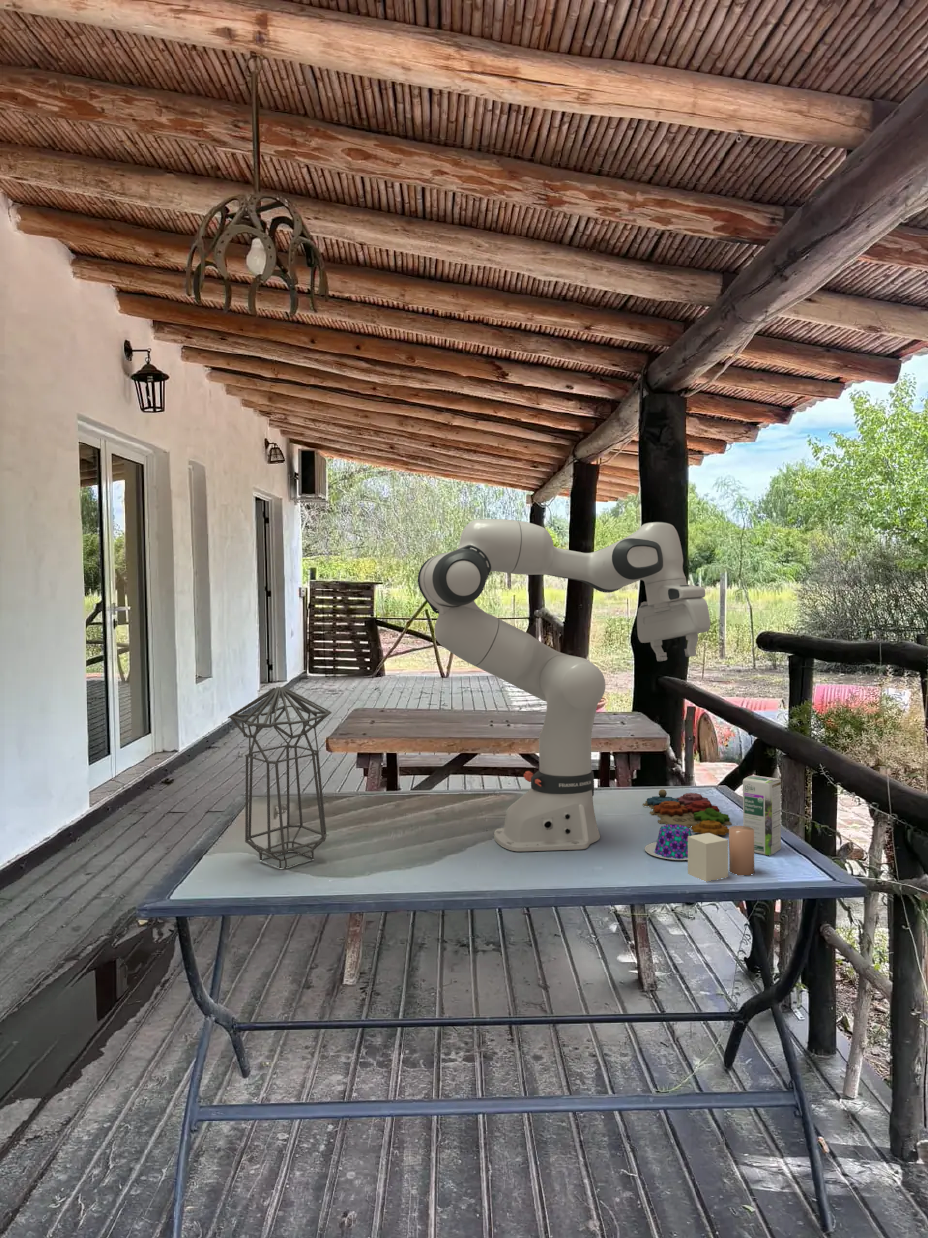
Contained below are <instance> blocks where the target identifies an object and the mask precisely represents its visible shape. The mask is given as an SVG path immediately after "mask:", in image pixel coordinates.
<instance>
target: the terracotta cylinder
mask: <svg viewBox="0 0 928 1238" xmlns="http://www.w3.org/2000/svg"><path fill="white" fill-rule="evenodd" d="M728 829H729V833H728V872H729V871H730V872H732V873H734V874H737V875H736V876H739V875H751V874H753V873H754V874H755V852H754V829H753V828H750V827H746V826H743V825H731V826H728ZM730 872H729V873H730ZM732 873H731V874H732ZM734 874H733V875H734ZM754 874H753V875H754ZM751 876H752V875H751Z"/></svg>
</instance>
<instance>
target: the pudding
mask: <svg viewBox="0 0 928 1238" xmlns="http://www.w3.org/2000/svg"><path fill="white" fill-rule="evenodd" d="M658 832H659V833H658V836H657V839H656V841H654V842H651V843H648V844H646V845H645V847H644V851H645V852H646V853H648V854H649V855H651V856H654V857H656V858H660V859H667V860H672V861H674V860H675V861H685V860H686V861H688V836H693V835H692V830H691V828H687V827H686V826H682V825H677V824H674V825H672V824H668V825H666V824H664V825H662V826H661V827H660V829H659V831H658ZM654 850H655V851H654Z"/></svg>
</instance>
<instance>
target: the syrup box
mask: <svg viewBox="0 0 928 1238" xmlns="http://www.w3.org/2000/svg"><path fill="white" fill-rule="evenodd" d="M742 824H743V825H742V826H746V827H750V828H753V829H754V854H761V855H764V856H768V855H769V857H770V856H772V855H774V854H775V853H777V852H779V851H780V850H781V849H782V779H781V778H777V777H776V778H774V777H767V776H760V775H753V774H752V775H749V776H747V777H745V778H743V780H742Z"/></svg>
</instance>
